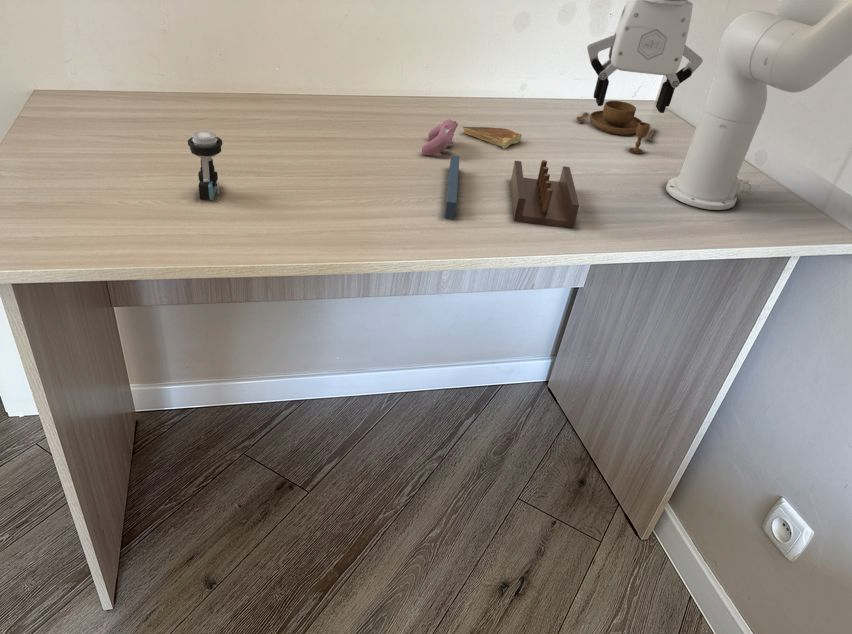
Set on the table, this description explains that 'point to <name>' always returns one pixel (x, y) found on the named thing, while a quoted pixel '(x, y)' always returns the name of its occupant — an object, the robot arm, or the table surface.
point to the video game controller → (440, 137)
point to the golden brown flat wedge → (494, 135)
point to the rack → (544, 197)
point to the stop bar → (452, 187)
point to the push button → (206, 161)
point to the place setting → (620, 122)
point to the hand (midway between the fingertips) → (629, 106)
